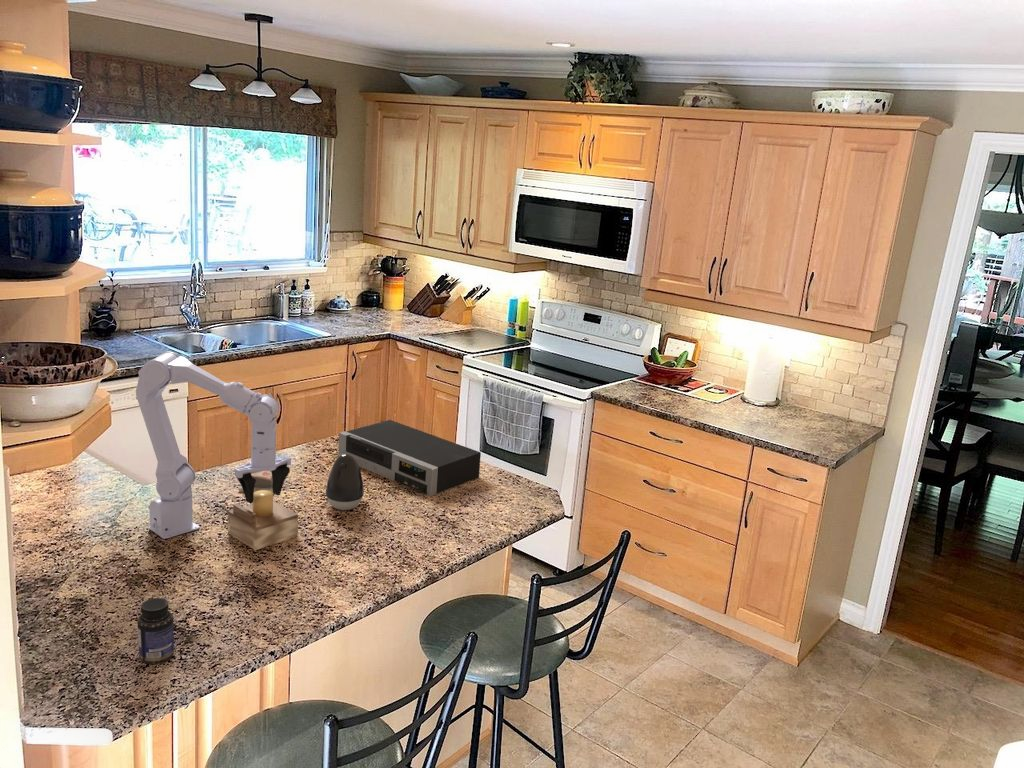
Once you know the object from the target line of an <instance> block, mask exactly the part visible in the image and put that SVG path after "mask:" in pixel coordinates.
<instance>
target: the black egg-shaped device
mask: <svg viewBox="0 0 1024 768" xmlns="http://www.w3.org/2000/svg"><path fill="white" fill-rule="evenodd" d="M327 477H328V478H327V481H326V487H325V497H326V498H327V501H328V504H330V506H331V507H333V508H334V509H336V510H340V511H350V510H353V509H355V508H356V507H358V506H359V504H360V503H361V502H362V499H363V497H364V496H365V495H364V494H365V493H364V492H365V489H364V480H363V476H362V472H361V467H359V465H358V463H357V461H356V459H355V458H354V457H353V456H352V455H350V454H342V455H340V456H337V457H336V459H335V460H334V461H333V464H332V466H331V468H330V472H329V475H328V476H327Z"/></svg>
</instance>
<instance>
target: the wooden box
mask: <svg viewBox="0 0 1024 768" xmlns="http://www.w3.org/2000/svg"><path fill="white" fill-rule="evenodd" d="M227 521H228V522H227V527H228V528H227V530H228V531H227V533H228V534H229V533H230V534H229V535H230V536H232V537H234V538H235V539H237V540H239V541H240V542H242V543H243V544H245V545H247V546H248V547H250V548H252V549H253V550H254V551H259V550H260V549H263V548H267V547H269V546H273V545H275V544H278V543H282V542H284V541H287V540H290V539H293V538H296V537H298V536H299V534H298V533H299V517H298V518H295V519H291V520H288V521H285V522H282V523H279V524H276V525H272V526H269V527H266V528H263V529H260V530H257V531H255V530H253V529H252V528H250V527H248V526H247V525H245V524H243V523H242V522H240V521H239V520H237V519H235V518H234V517H232V516H230V515H229V514H228V513H227Z"/></svg>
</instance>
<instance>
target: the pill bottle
mask: <svg viewBox="0 0 1024 768" xmlns="http://www.w3.org/2000/svg"><path fill="white" fill-rule="evenodd" d="M169 608H170V607H169V601H168V600H167V599H166V598H164V597H154V598H149V599H146V600H144V601H143V602H142V603H141V606H140V612H141V614H140V615H139V617H138V618H137V641H138V643H137V644H138V658H139V660H140V661H141V662H142V663H144V664H147V665H159V664H163V663H166V662H168V661H169V660H171V659H172V658H173V657H174V655H175V640H174V639H175V638H174V637H175V636H174V635H175V634H174V633H175V632H174V616H173V614H172V612H171V611H170V610H169Z"/></svg>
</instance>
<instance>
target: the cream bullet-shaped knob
mask: <svg viewBox="0 0 1024 768" xmlns="http://www.w3.org/2000/svg"><path fill="white" fill-rule="evenodd" d="M273 501H274V494H273V493H272V492H271V491H267V490H260V491H256V492H254V499H253V503H252V504H253V513H255V514H256V516H258V517H266V516H270V515H272V514H273Z"/></svg>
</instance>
